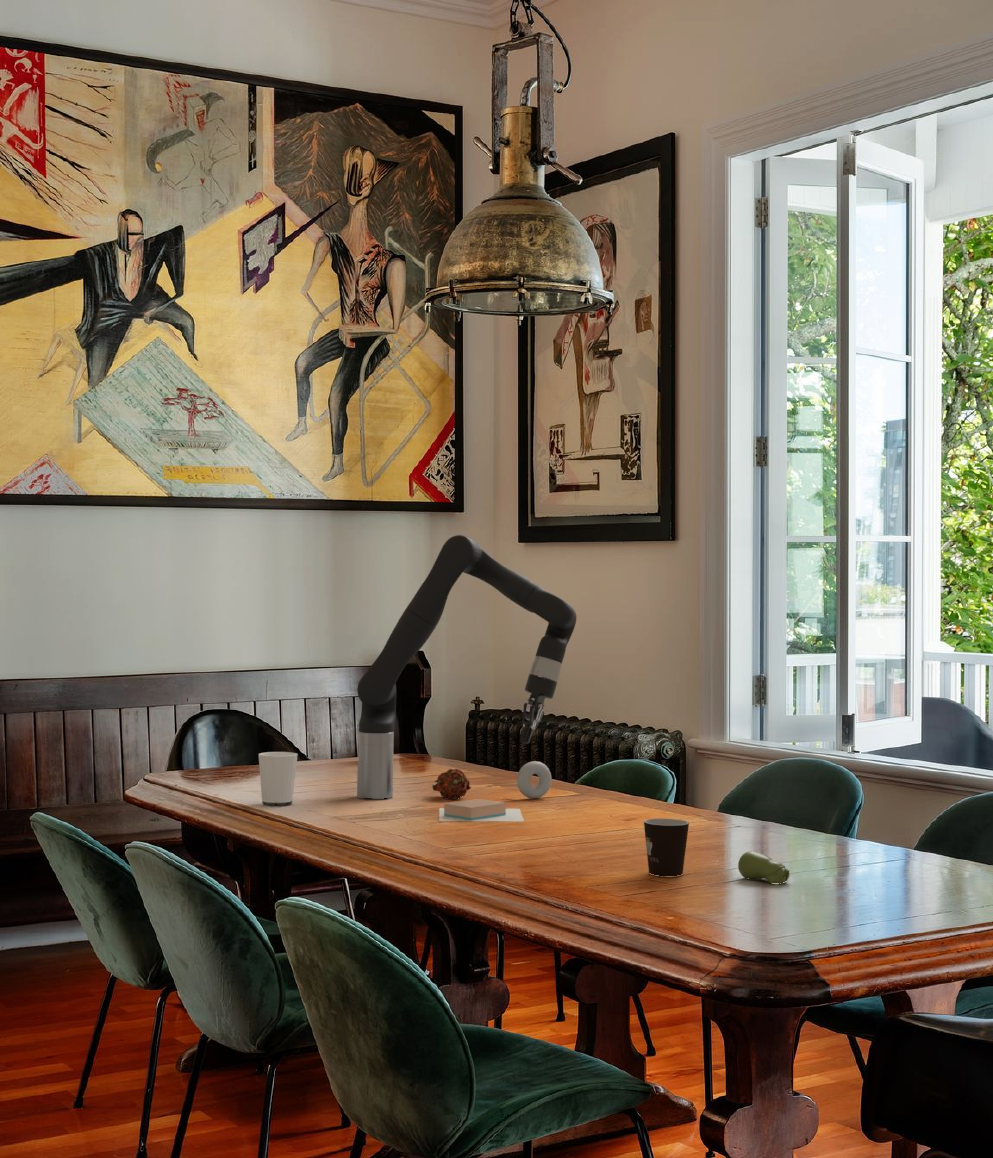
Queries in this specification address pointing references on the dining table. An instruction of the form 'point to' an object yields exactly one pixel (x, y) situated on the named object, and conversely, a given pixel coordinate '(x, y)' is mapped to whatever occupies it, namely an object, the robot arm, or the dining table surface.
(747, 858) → the pear
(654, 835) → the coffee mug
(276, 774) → the cup
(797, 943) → the dining table surface
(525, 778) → the donut
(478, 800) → the teal rectangular block
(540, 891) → the dining table surface
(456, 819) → the felt mat
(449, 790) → the brown textured round lump
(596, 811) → the dining table surface
